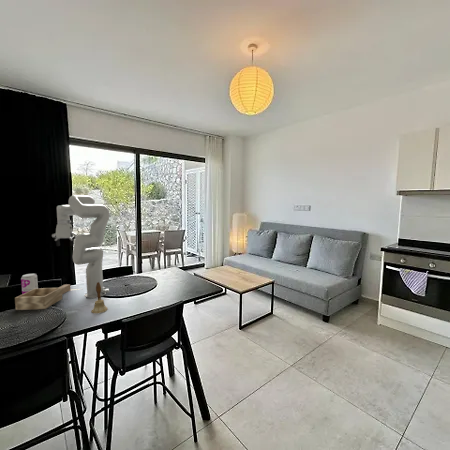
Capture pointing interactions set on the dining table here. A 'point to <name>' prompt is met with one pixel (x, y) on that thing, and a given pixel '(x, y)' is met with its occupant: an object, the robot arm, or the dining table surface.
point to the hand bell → (99, 302)
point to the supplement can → (29, 282)
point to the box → (38, 298)
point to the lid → (66, 288)
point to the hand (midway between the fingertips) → (65, 245)
